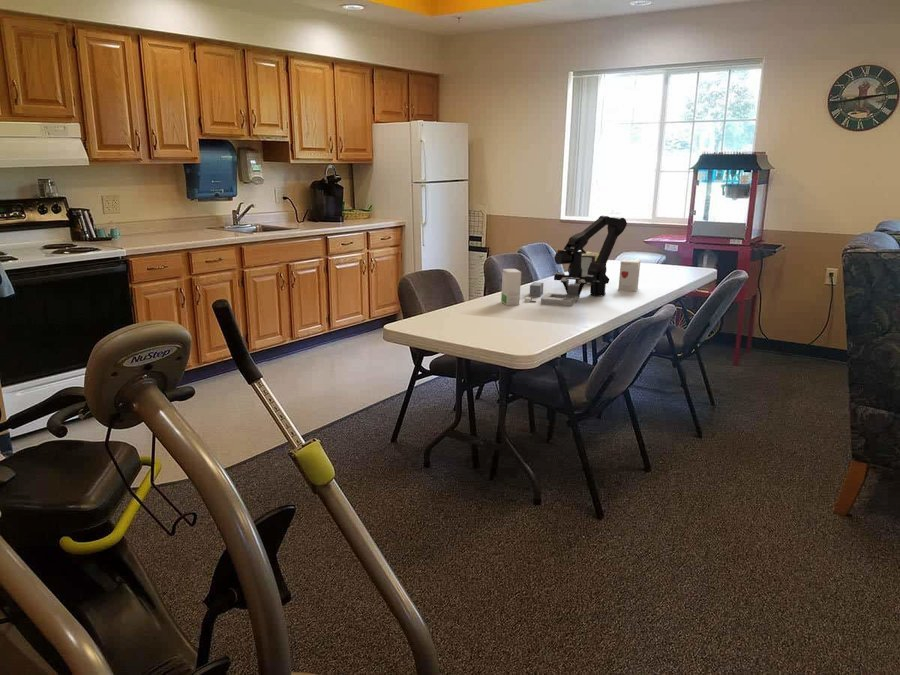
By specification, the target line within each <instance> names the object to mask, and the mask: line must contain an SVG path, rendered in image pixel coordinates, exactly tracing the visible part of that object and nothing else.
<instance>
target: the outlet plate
mask: <svg viewBox="0 0 900 675" xmlns="http://www.w3.org/2000/svg"><path fill="white" fill-rule="evenodd" d="M577 301H578V299H577V295H569V294H567V293H556V292H555V293H554V292H547V293H545V295H544V296H542V297H540V304H541V305H549V304H550V305H549V306H551V305H552V306H560V305H562V306H561V307H572V306H573V305H574V304H575V303H576V302H577Z"/></svg>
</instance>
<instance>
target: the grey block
mask: <svg viewBox="0 0 900 675" xmlns="http://www.w3.org/2000/svg"><path fill="white" fill-rule="evenodd" d="M579 286H580V284H576V283H575V284H573V283H570V284H569V285H568V292H566V294H569V295H577V300H578V299H579V298H580V297H581V296H578V293H579Z"/></svg>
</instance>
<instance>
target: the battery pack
mask: <svg viewBox="0 0 900 675" xmlns="http://www.w3.org/2000/svg"><path fill="white" fill-rule="evenodd" d="M542 295H544V282H537V281H536V282H535V281H533V282H531V284H530V285H529V297H531V298H532V297H534V298H541V296H542Z"/></svg>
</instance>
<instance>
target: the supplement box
mask: <svg viewBox="0 0 900 675" xmlns="http://www.w3.org/2000/svg"><path fill="white" fill-rule="evenodd" d="M640 267H641V260H640V259H630V258H629V259H627V258H626V259H625V258H622V259H621V261H620V267H619V277H618V278H619V279H618V291H626V292H637V290H638V288H639V278H640V269H641V268H640Z"/></svg>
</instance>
